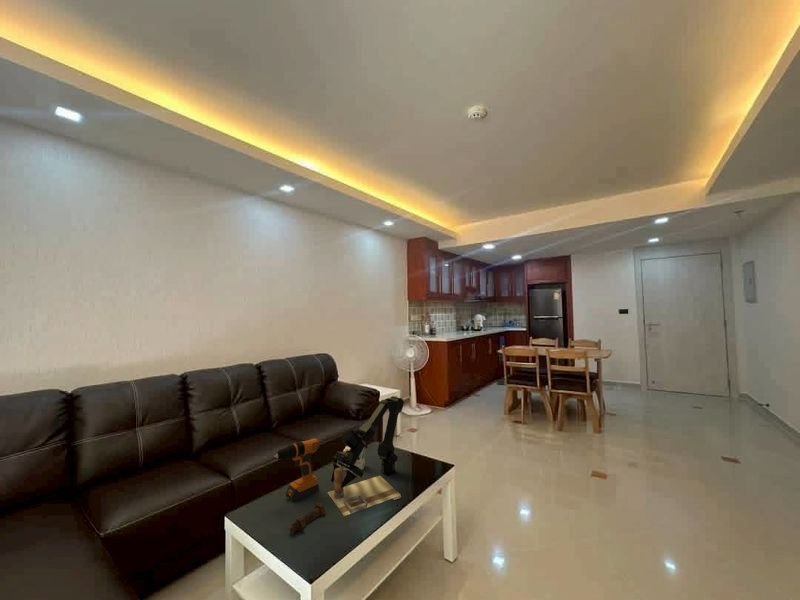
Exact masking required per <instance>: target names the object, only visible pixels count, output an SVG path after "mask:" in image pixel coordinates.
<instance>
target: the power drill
mask: <svg viewBox="0 0 800 600" xmlns="http://www.w3.org/2000/svg"><path fill="white" fill-rule="evenodd" d="M319 447H320V441H319V439H317V438H310V439H308V440H307V439H306V440H304V441H299V442H295V443H292V444H290V445H287V446H285V447H283V448H281V449H278V450H277V452H276V454H275V455H274V456H273V457H274V458H276V459H277V460H279V461H283V460H284V461H285V460H288V459H290V460H292V461H294V462H295V463H294V466H297V467H300V469H299V470H300V473H301V478H298V479H296V480H294V481H292V482H290V483H289V485H288V486H287V489H286V492H285V497H286V498H287V499H288V500H290V501H291V502H296V501H298V500H300V499H303V498H305V497H307V496H310V495H312V494H314V493H315V492H316V493H317V492H319V490H320V486H319V484H318V478H317V476H316V475H314V474H313V463H312V460H311V456H312V455H313V454H316V452H317V450H319Z"/></svg>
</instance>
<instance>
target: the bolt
mask: <svg viewBox="0 0 800 600" xmlns="http://www.w3.org/2000/svg"><path fill="white" fill-rule="evenodd" d="M325 514H326V510H325V506H324V505H323V504H322V503H321V502H317V503H315V506H314V508H313V509H312V510H311V511H310V512H308V513H307V514H305V515H304V516H298V517H297V518H296V519H295V522H293V523H292V524H291V525H290V526H289V530H288V531H289V533H290V534H293V535H294V534H296V533H297V532H298V531H301V532H302V531H304V528H306V526H307V525H308V524H309V523H311V522H312V521H314V520H315V519H317V518H318V517H320V516H322V517H323V516H324V515H325Z"/></svg>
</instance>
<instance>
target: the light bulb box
mask: <svg viewBox="0 0 800 600" xmlns="http://www.w3.org/2000/svg"><path fill="white" fill-rule="evenodd" d="M347 450H348V451H349V450H350V448H349V447H348V446H347V445H345V448H344V449H343V450H342V452H344V453H345V452H346V451H347ZM359 458H360V460H357V461H356V463H355V466H357V467H359V468H360V469H361V470H364V468H365V465H366V464H365V448H364V449H363V450H362V452H361V454H360V456H359ZM348 467H349V466H348ZM347 470H348V471H350V470H349V469H347V468H345V467H343V471H346V472H347Z"/></svg>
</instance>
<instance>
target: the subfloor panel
mask: <svg viewBox="0 0 800 600" xmlns="http://www.w3.org/2000/svg"><path fill="white" fill-rule="evenodd" d="M343 489H344V497H343V498H341V499H336V498H334V490H335V489H334V490H331V491H328V492H327V494H328V495H329V497H330V498H331V500H332V501H333V503H334V504H335V506H336V507H337V508H338V509H339V511H340V512H341V514H342V515H343V517H345V516H348V515H351V514H354V513H357V512H359V511H363V510H366V509H367V508H370V507H373V506H376V505H378V504H382V503H383V502H387V501H390V500H392V499H393V500H394V501H396V500H398V499H401V498H402V495H401V493H400V492H399V491H397V490H396V489H395V488H394V487H393V486H392V485H390V483H389V482H387V480H386V479H384V478H383V477H382V476H381V475H377V476H374V477H371V478H368V479H366V480H365V479H364V480H361V481H359V482H355V483H352V484H348V485H345V486H344V487H343Z"/></svg>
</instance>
